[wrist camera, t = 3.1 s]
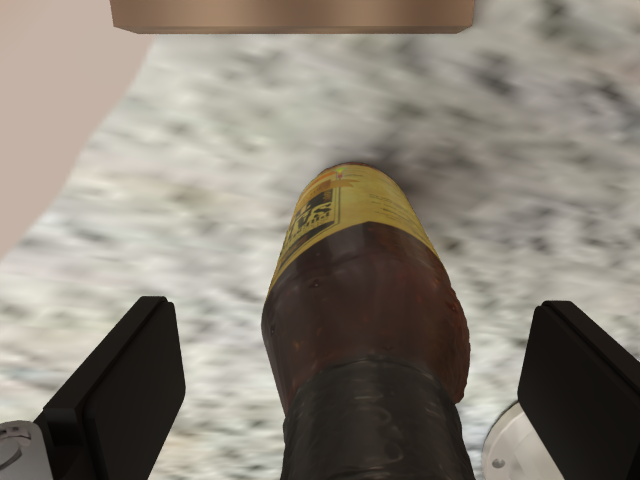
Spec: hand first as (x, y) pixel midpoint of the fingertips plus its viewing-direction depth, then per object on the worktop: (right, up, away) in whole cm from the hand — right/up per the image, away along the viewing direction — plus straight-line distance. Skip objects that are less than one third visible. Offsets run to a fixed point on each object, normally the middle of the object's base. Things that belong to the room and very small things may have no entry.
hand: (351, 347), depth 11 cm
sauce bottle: (+1, +4, +13) cm, 14 cm away
